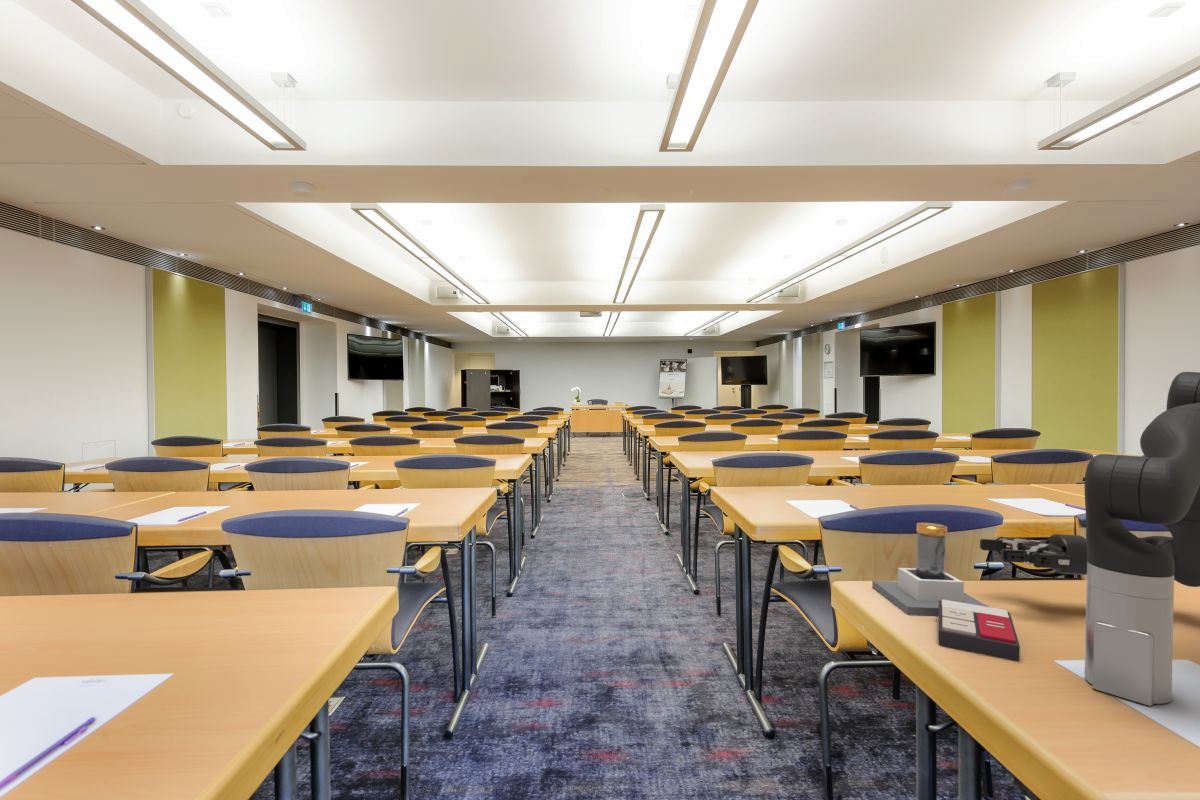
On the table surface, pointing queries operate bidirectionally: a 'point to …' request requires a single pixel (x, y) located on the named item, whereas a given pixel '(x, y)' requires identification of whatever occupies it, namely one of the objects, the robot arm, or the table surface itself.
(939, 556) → the lidded canister
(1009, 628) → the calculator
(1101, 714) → the table surface
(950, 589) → the duct collar
